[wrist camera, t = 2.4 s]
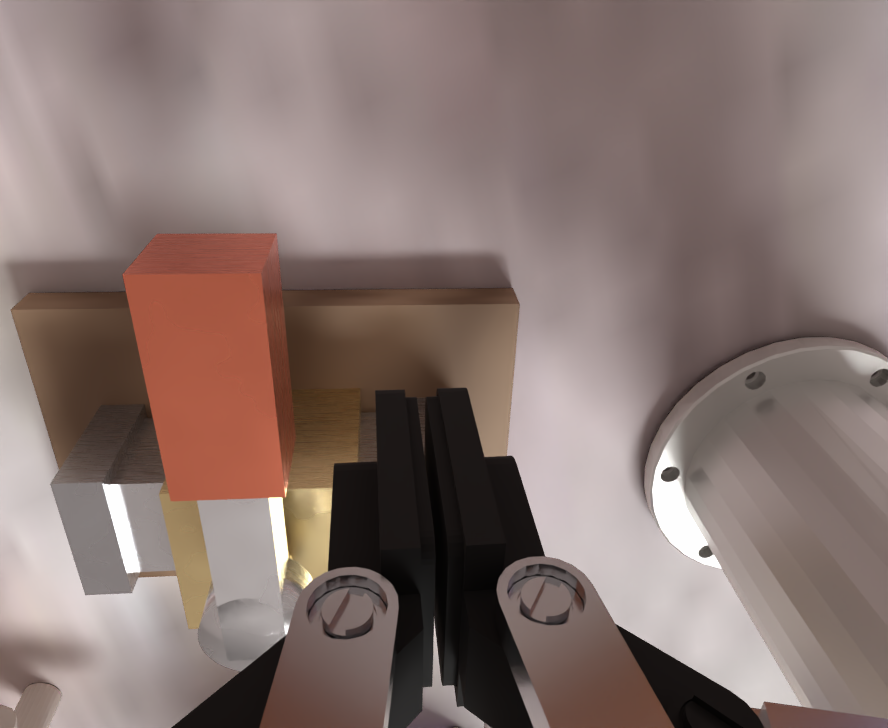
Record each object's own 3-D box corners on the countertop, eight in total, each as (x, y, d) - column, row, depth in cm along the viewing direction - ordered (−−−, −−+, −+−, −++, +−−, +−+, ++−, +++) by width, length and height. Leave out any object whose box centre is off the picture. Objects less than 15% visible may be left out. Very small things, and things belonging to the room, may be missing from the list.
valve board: (512, 288, 27) (519, 303, 26) (492, 538, 33) (497, 561, 32) (29, 292, 26) (10, 309, 24) (104, 554, 32) (92, 579, 31)
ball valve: (461, 382, 28) (487, 503, 21) (456, 499, 30) (477, 637, 24) (95, 389, 26) (6, 521, 20) (126, 511, 29) (57, 659, 23)
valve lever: (318, 612, 23) (312, 681, 21) (220, 617, 23) (203, 687, 21) (284, 233, 17) (270, 273, 15) (148, 233, 17) (112, 274, 14)
